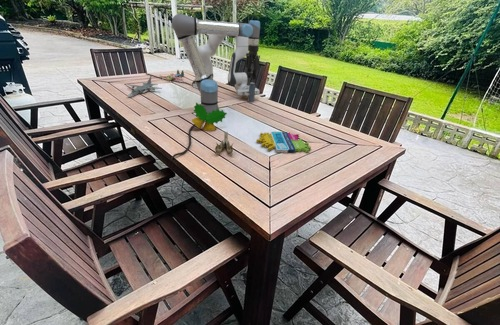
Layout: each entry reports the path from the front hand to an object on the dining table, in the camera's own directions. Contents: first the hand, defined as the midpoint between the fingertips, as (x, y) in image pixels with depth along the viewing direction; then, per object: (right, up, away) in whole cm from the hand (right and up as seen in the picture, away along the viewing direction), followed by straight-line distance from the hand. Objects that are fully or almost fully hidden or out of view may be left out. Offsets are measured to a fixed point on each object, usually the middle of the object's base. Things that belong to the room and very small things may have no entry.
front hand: (251, 78), depth 197 cm
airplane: (-94, -2, +30) cm, 99 cm away
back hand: (+1, -6, +22) cm, 23 cm away
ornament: (-27, -42, -32) cm, 60 cm away
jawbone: (-15, -58, -59) cm, 84 cm away
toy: (-82, +27, +83) cm, 120 cm away
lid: (0, +3, -2) cm, 4 cm away
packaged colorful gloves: (+18, -52, -45) cm, 71 cm away
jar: (0, -11, +26) cm, 29 cm away
